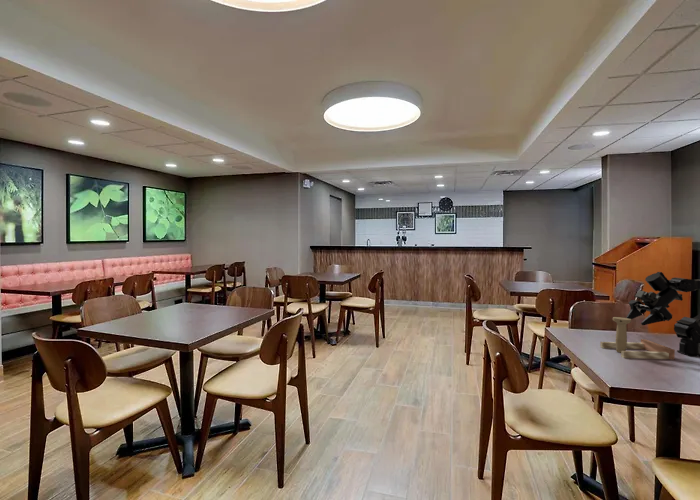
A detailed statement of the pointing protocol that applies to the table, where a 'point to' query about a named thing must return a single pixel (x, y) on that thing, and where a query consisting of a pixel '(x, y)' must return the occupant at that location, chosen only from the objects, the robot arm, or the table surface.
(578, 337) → the table surface
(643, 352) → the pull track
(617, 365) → the table surface
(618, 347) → the handle
